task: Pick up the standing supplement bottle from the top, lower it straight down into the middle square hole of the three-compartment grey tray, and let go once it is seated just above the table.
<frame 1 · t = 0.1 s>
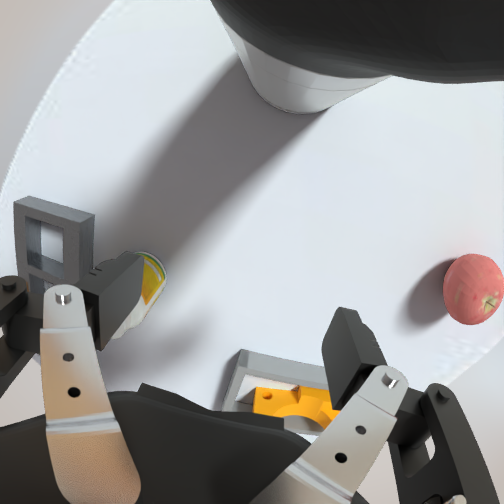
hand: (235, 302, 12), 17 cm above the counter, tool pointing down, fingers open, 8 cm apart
supplement bottle: (146, 271, 32), on the counter
clamp tray: (300, 393, 37), on the counter
pipe clamp: (300, 391, 37), resting in clamp tray
three-compartment grey tray: (60, 290, 34), on the counter
apple: (456, 272, 29), on the counter
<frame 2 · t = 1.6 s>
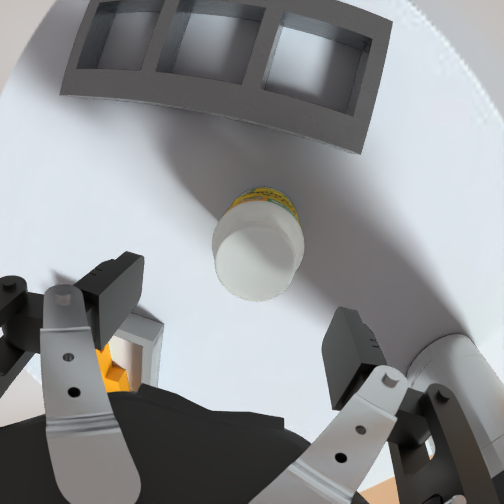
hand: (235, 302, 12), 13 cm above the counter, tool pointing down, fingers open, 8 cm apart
supplement bottle: (263, 219, 24), on the counter
clamp tray: (115, 370, 31), on the counter
pipe clamp: (111, 366, 32), resting in clamp tray
three-compartment grey tray: (217, 49, 19), on the counter
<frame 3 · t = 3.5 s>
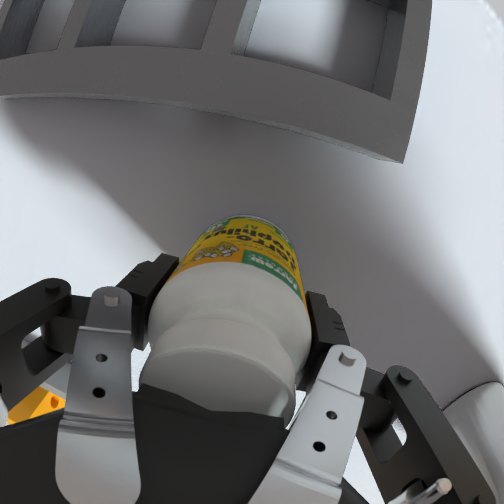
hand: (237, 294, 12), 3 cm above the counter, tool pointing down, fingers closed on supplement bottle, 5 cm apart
supplement bottle: (245, 261, 16), on the counter, touching gripper
clamp tray: (82, 424, 23), on the counter
pipe clamp: (73, 417, 23), resting in clamp tray
three-compartment grey tray: (172, 9, 11), on the counter
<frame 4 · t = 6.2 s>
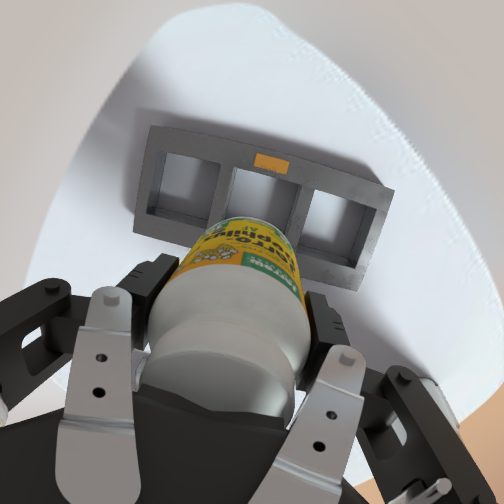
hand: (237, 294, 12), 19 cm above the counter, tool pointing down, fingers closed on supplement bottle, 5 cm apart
supplement bottle: (245, 263, 16), point 16 cm above the counter, touching gripper
three-compartment grey tray: (260, 203, 30), on the counter
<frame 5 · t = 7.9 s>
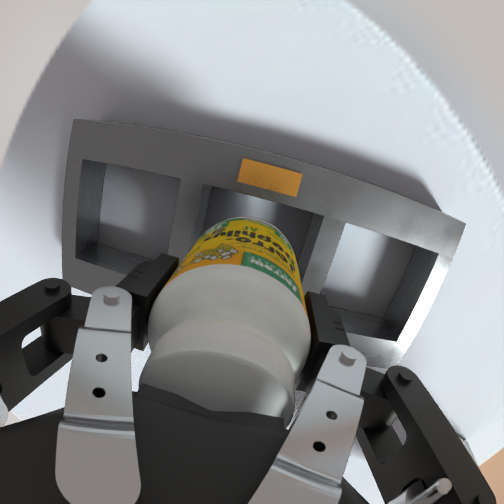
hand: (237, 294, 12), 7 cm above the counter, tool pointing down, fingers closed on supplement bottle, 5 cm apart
supplement bottle: (245, 263, 16), point 3 cm above the counter, touching gripper
three-compartment grey tray: (252, 239, 19), on the counter
when the fingers open (4 cm above the counter, at t = 9.3 s): supplement bottle stays where it is, resting in three-compartment grey tray.
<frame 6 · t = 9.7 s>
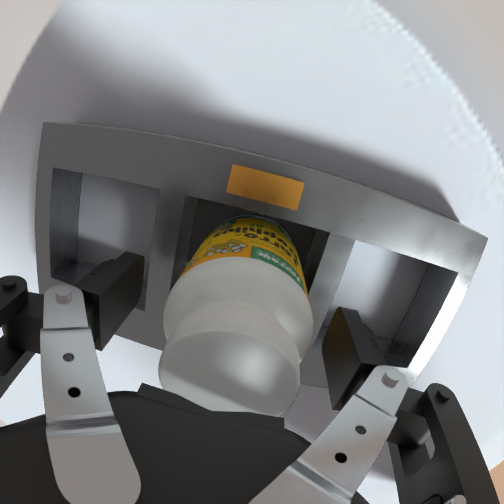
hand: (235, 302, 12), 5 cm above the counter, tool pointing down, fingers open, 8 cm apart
supplement bottle: (250, 258, 17), resting in three-compartment grey tray
three-compartment grey tray: (246, 256, 17), on the counter
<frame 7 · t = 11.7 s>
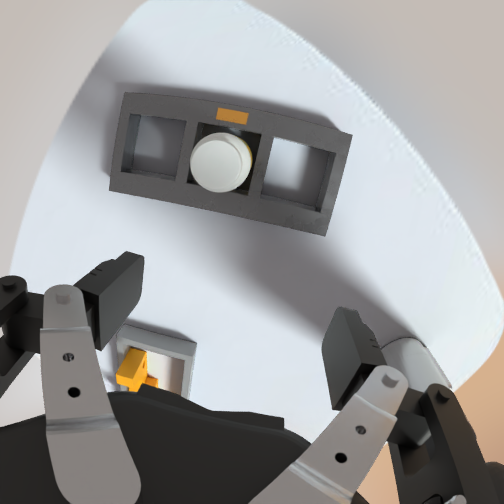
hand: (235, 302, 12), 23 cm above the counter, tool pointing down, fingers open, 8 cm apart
supplement bottle: (228, 158, 32), resting in three-compartment grey tray
clamp tray: (157, 378, 43), on the counter
pipe clamp: (145, 376, 44), resting in clamp tray
three-compartment grey tray: (226, 157, 31), on the counter
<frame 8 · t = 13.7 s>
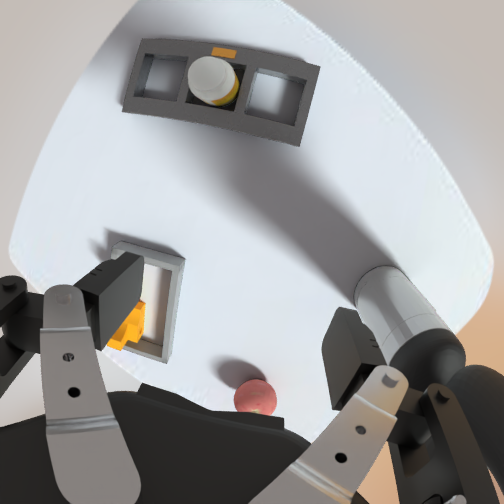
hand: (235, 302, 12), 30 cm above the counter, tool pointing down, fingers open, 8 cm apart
supplement bottle: (221, 89, 36), resting in three-compartment grey tray
clamp tray: (146, 301, 47), on the counter
pipe clamp: (134, 300, 48), resting in clamp tray
three-compartment grey tray: (219, 87, 35), on the counter
apple: (257, 384, 52), on the counter
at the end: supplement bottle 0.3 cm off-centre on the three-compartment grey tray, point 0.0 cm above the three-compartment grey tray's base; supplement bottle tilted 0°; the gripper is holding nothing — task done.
